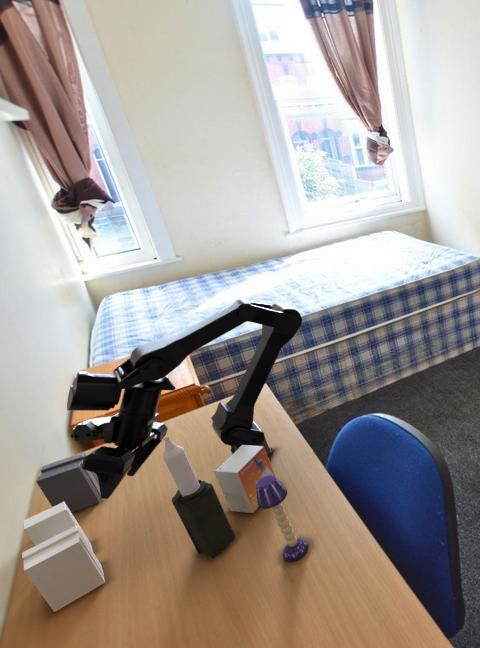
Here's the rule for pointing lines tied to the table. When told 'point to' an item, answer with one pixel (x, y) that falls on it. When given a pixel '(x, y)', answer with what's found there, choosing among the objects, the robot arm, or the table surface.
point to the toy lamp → (280, 515)
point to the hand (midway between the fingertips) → (118, 486)
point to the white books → (63, 568)
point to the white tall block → (51, 524)
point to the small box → (243, 477)
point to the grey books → (69, 483)
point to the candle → (197, 504)
